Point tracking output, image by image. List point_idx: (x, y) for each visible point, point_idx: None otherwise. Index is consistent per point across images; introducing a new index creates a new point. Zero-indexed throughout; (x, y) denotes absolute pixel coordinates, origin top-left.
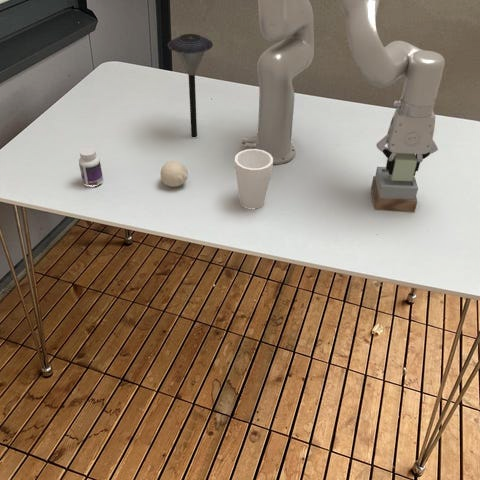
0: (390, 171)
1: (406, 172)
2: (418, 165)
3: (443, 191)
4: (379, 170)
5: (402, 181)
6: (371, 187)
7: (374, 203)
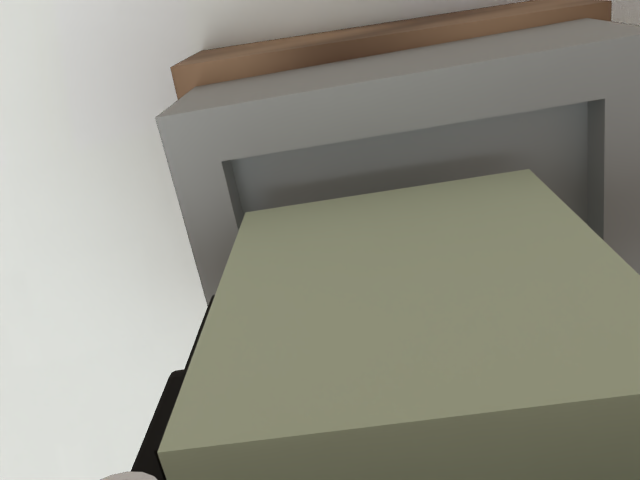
0: None
1: (353, 258)
2: (159, 435)
3: (15, 375)
4: None
5: None
6: None
7: None
